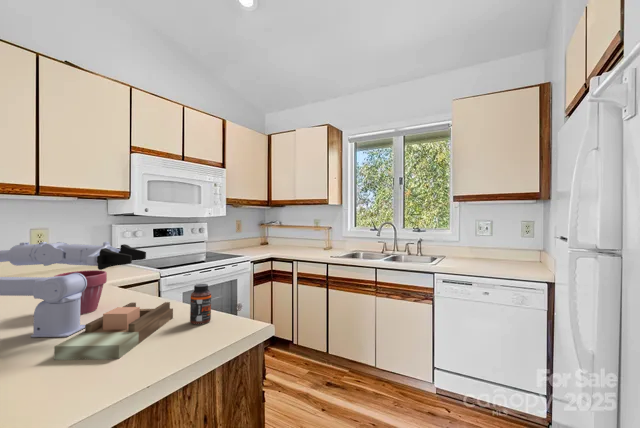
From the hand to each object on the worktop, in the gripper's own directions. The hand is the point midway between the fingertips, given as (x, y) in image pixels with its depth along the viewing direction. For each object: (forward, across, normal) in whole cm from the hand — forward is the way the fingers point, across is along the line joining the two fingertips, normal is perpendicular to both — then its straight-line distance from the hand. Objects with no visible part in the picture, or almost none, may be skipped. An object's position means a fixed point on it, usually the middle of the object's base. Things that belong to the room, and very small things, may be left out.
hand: (138, 257), depth 85 cm
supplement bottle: (+16, +6, +20) cm, 27 cm away
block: (-1, -5, +18) cm, 18 cm away
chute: (-1, -4, +20) cm, 21 cm away
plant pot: (-27, +19, +23) cm, 40 cm away
